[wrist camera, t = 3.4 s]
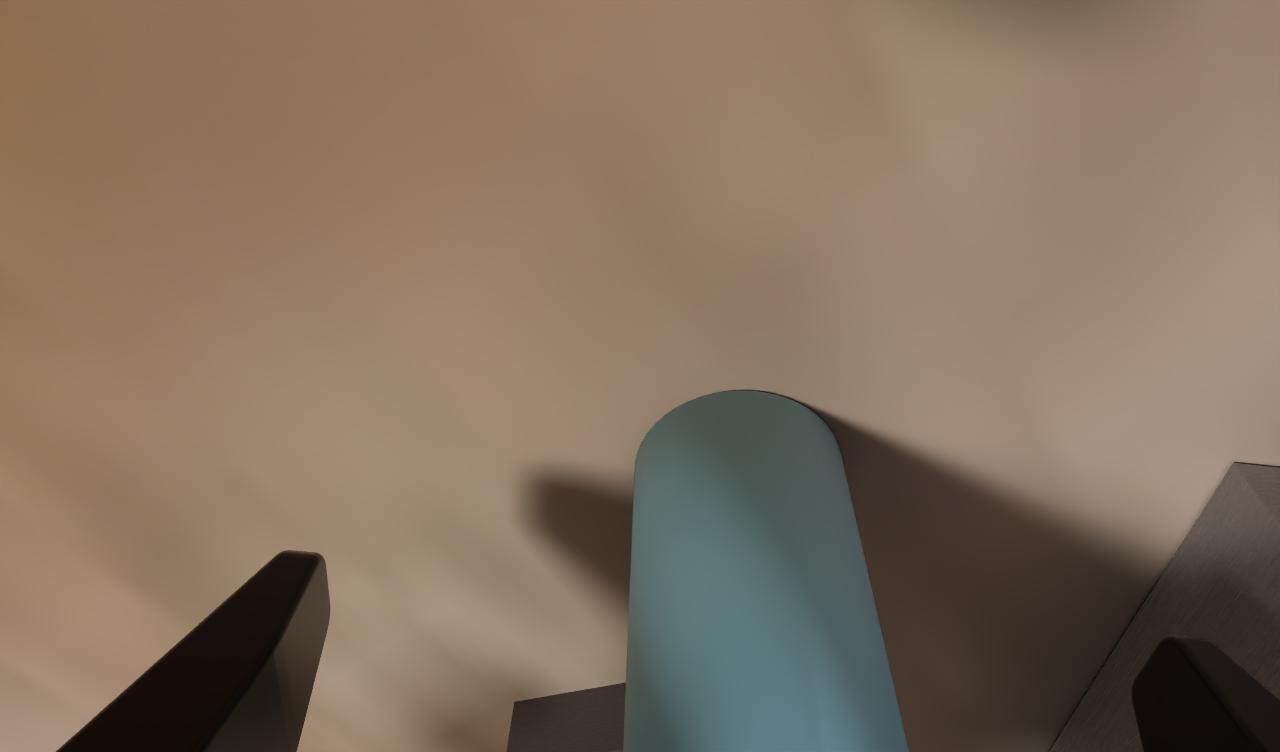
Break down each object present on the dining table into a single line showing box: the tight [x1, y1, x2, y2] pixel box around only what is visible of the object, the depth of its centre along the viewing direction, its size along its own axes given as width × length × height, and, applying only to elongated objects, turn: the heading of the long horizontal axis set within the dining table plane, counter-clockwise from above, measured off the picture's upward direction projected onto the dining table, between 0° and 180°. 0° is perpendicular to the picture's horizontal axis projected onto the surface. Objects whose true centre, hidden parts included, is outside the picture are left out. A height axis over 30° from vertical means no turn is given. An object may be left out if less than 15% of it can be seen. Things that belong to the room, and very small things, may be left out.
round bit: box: [623, 390, 909, 752], centre depth 9 cm, size 3×3×7 cm
